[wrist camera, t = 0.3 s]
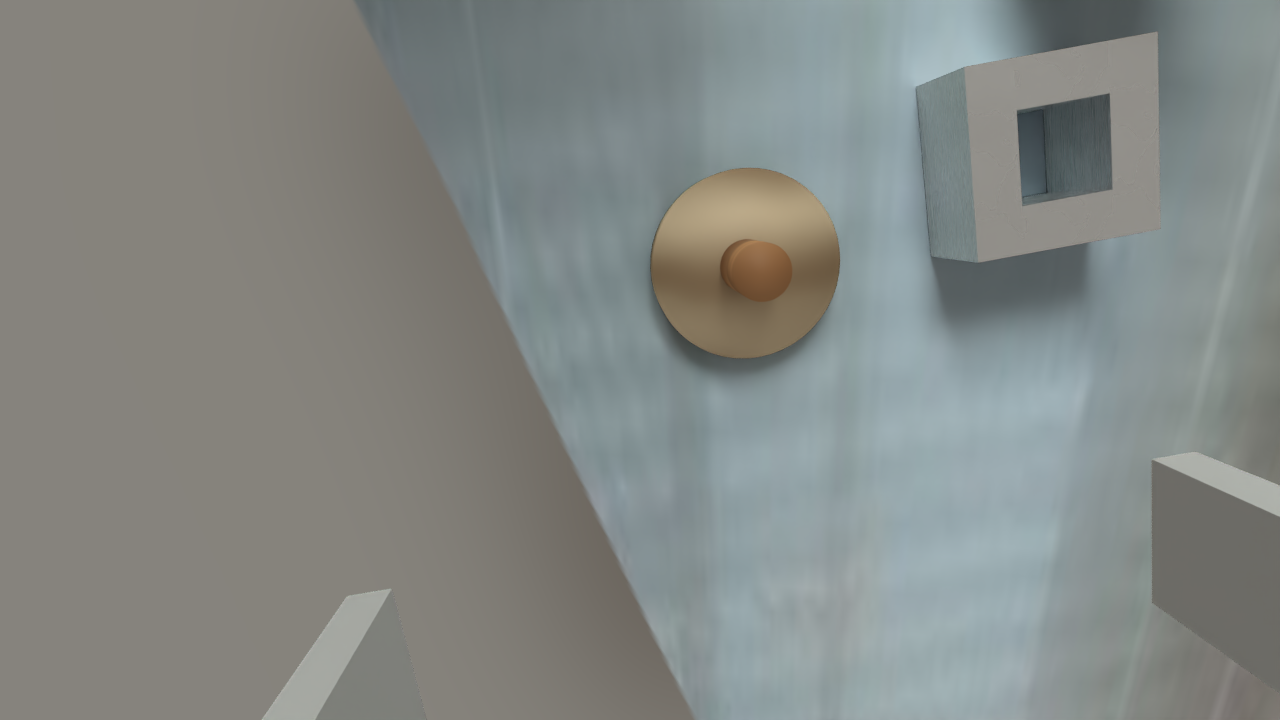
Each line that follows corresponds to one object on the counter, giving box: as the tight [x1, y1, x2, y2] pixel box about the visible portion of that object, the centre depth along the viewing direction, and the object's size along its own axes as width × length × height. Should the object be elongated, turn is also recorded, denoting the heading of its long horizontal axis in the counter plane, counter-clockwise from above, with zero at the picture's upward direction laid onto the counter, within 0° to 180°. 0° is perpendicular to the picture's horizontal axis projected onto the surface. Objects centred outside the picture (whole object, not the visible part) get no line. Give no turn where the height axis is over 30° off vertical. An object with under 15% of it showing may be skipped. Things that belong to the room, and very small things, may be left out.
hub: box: [650, 168, 840, 358], centre depth 35 cm, size 10×10×6 cm
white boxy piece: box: [916, 31, 1161, 263], centre depth 35 cm, size 9×9×5 cm
